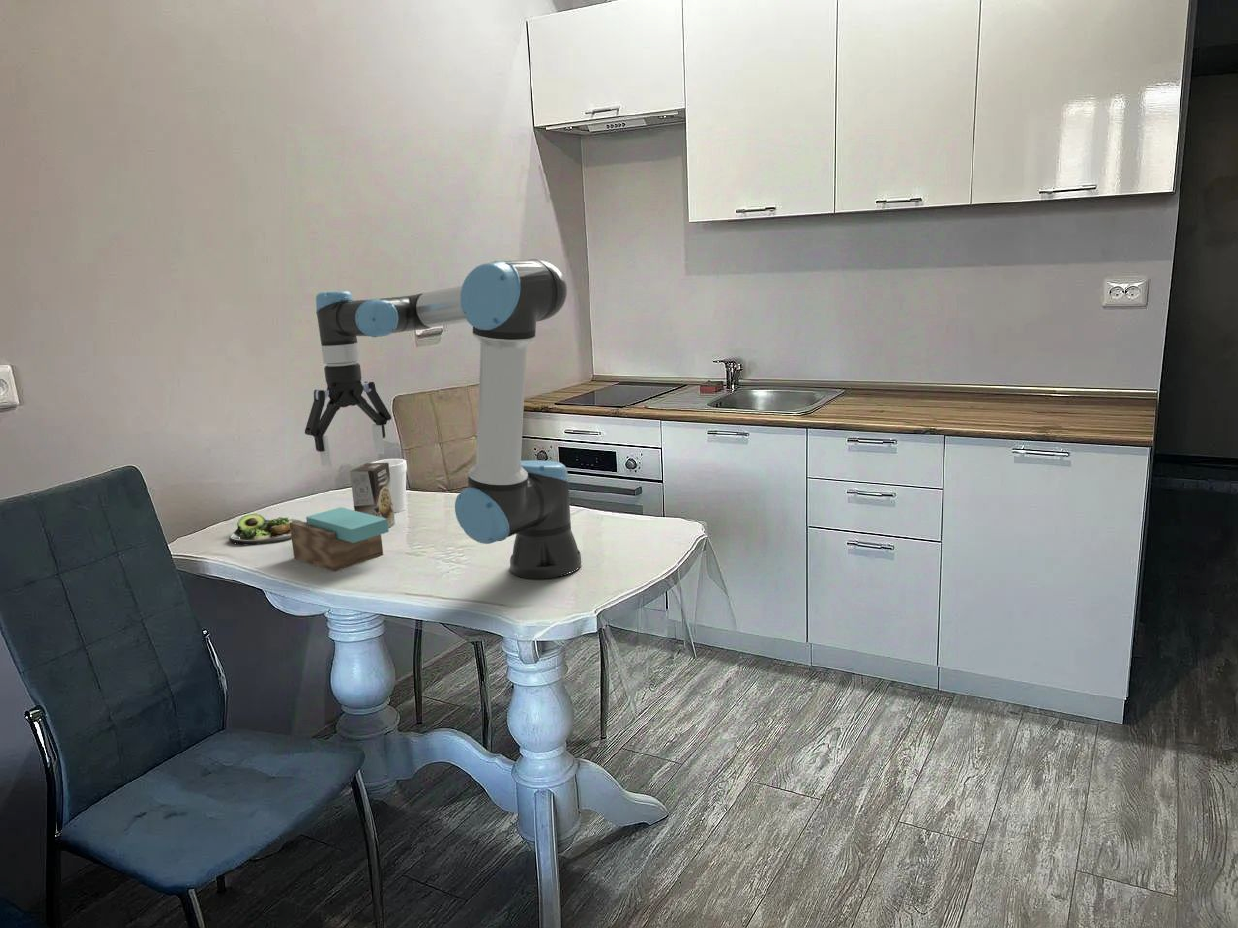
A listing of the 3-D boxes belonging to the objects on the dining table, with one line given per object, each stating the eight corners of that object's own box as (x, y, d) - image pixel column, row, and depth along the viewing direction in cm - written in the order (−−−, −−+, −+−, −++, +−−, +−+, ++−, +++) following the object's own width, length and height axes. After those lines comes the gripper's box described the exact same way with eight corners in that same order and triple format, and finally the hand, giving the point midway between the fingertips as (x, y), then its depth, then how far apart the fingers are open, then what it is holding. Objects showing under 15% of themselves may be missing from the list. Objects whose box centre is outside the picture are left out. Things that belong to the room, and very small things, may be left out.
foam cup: (399, 503, 256) (394, 457, 253) (417, 508, 249) (412, 461, 246) (368, 511, 250) (363, 464, 247) (386, 517, 243) (381, 468, 240)
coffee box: (380, 534, 228) (373, 470, 224) (356, 534, 229) (348, 470, 226) (396, 523, 237) (389, 461, 233) (372, 523, 238) (365, 461, 234)
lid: (388, 531, 205) (387, 518, 205) (353, 542, 199) (351, 529, 198) (342, 519, 217) (340, 507, 216) (307, 529, 210) (306, 516, 210)
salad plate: (320, 521, 244) (318, 504, 242) (307, 541, 226) (305, 523, 225) (243, 527, 241) (241, 510, 240) (225, 548, 224) (222, 530, 223)
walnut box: (383, 554, 212) (379, 519, 210) (333, 571, 203) (328, 534, 201) (343, 543, 223) (339, 508, 221) (294, 558, 213) (289, 522, 211)
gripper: (380, 356, 213) (391, 446, 218) (279, 370, 195) (293, 469, 200) (400, 357, 208) (410, 450, 213) (298, 372, 190) (311, 473, 195)
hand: (353, 459), depth 206 cm, fingers open, 13 cm apart
